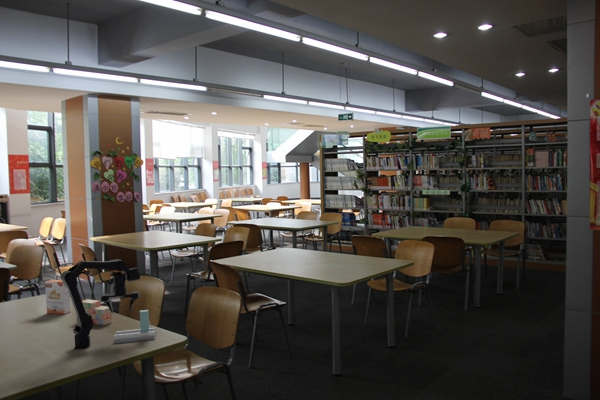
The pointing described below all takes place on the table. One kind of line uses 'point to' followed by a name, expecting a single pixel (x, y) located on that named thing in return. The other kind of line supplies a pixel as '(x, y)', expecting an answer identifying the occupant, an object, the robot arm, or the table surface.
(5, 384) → the table surface
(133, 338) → the floor track
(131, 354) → the table surface
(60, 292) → the cracker box
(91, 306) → the stack of blocks
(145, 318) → the pale teal block
